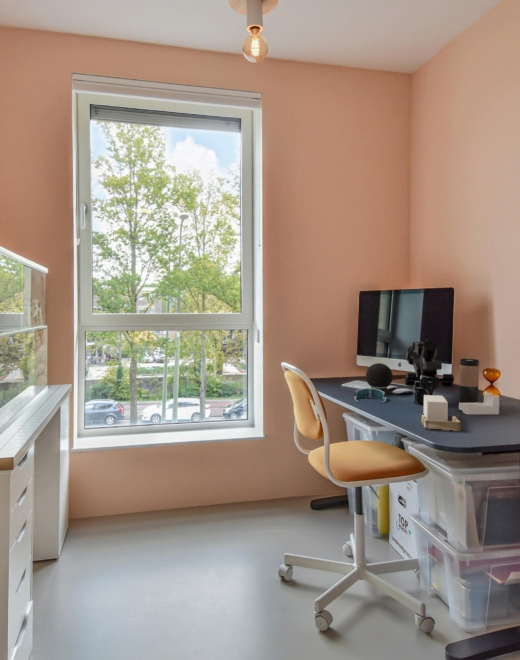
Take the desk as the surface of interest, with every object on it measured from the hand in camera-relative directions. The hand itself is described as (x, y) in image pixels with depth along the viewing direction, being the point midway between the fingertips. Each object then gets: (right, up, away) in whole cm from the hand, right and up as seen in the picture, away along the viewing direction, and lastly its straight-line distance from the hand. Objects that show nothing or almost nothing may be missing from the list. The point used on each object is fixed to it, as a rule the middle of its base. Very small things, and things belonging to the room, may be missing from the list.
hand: (430, 396), depth 190 cm
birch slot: (-5, -8, -22) cm, 24 cm away
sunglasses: (-18, -6, +27) cm, 33 cm away
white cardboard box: (-2, -7, -10) cm, 13 cm away
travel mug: (+22, -6, +16) cm, 28 cm away
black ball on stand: (-9, -5, +46) cm, 47 cm away
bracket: (+20, -7, +2) cm, 21 cm away
